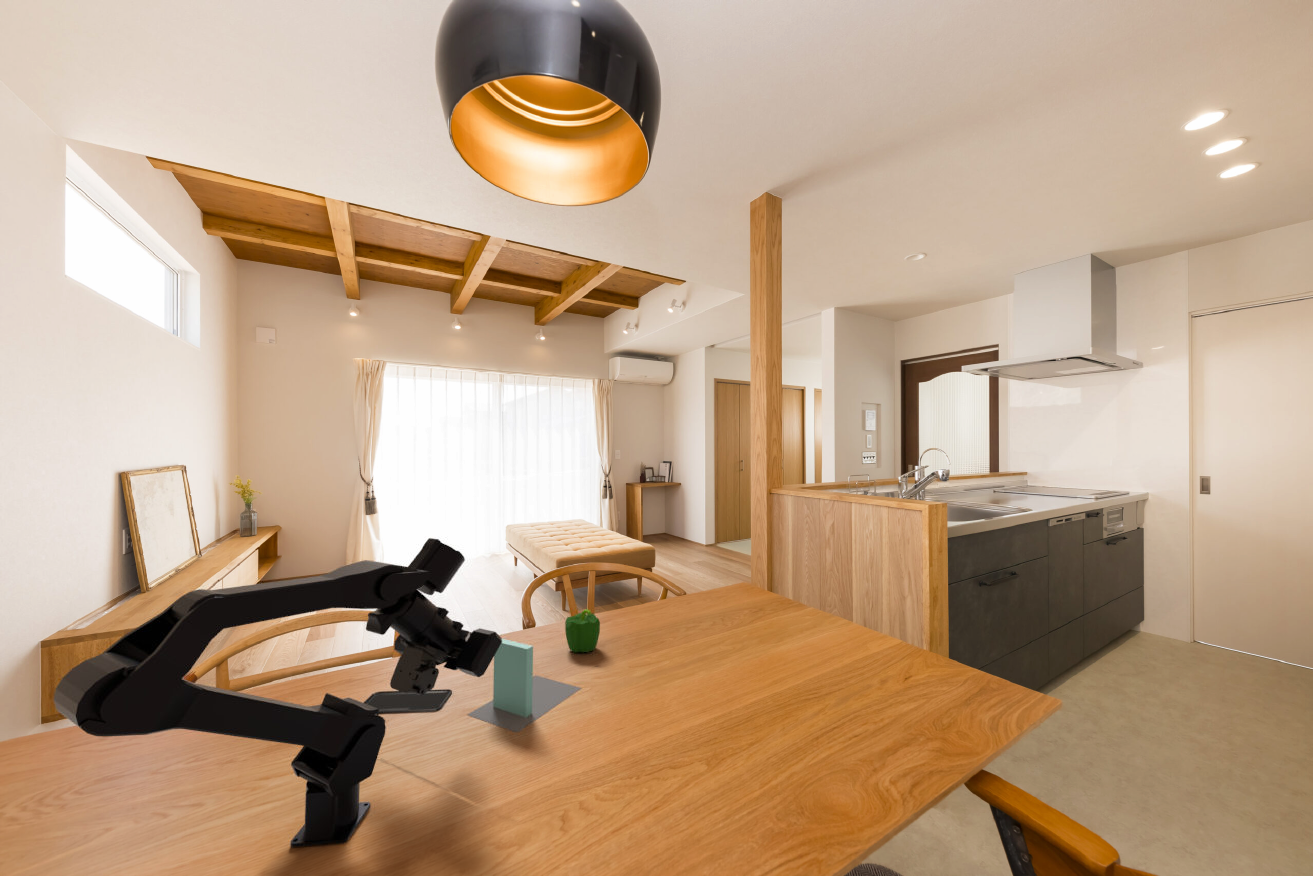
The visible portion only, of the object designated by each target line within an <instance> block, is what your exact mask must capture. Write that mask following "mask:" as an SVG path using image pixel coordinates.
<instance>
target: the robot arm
mask: <svg viewBox="0 0 1313 876" xmlns="http://www.w3.org/2000/svg"><path fill="white" fill-rule="evenodd" d="M465 561H466V559H465V556H464V554H462V552H460V551H459V550H456V549H454V548H453V547H451V546H450V545H448V544H445V543H442V541H441V540H440V539H439V538H434V537H433V538H431V537H430V538H428V539H427V540H426V542H425V543H424V544H423V546H422V548H421V550H420V551H419V552H418V553H417V555H416V556H415V557H414V558H413V560H412V561H411V562H410V564H409V565H408V566H403V565H399V564H398V565H397V564H392V563H387V562H381V561H375V560H360V561H357V562H353V563H350V564H347V565H344V566H339V567H338V568H336V569H334V570H332V571H330V572H328V573H324V574H321V575H316V576H310V577H309V576H308V577H302V578H301V577H299V578H293V579H287V580H284V579H283V580H280V581H279V580H278V581H271V582H270V581H269V582H264V583H256V584H249V585H247V584H246V585H240V586H234V587H226V588H224V587H223V588H217V589H204V588H203V589H202V588H201V589H196V590H191V591H189V592H187V593H185V594H183V595H181V596H180V597H179V598H178V599H176V600H175V601H174V602H172V603H171V605H169V606H167V608H165V609H164V610H163V611H162V612H160V613H158V614H157V615H155V616H153V617H152V618H150V619H149V620H147V621H145V622H144V623H142V624H141V625H139V626H138V627H136V628H134V629H132V630H131V631H129V632H127V633H126V634H124V635H123V636H121V637H120V638H119V639H118V640H116V641H115V642H114V643H113V644H112V645H111V646H109V647H108V648H107V649H105V650H104V651H103V652H101V653H100V654H98V655H95V656H93V657H91V658H88V659H85V660H84V661H81V663H79V664H78V665H76V666H74V667H73V668H72V669H71V670H69V671H68V672H67V673H66V674H65V675H64V676H63V677H62V678H61V679H60V681H59V682H58V684H57V686H56V687H55V691H54V696H53V703H54V706H55V710H56V711H57V712H58V713H59V714H61V715H62V716H64V717H65V718H66V719H67V720H69V721H70V722H72V723H73V724H74V725H76V726H77V727H78V728H80V729H81V730H82V731H83V732H85V733H86V734H88V735H92V736H95V737H100V738H101V737H103V738H104V737H125V736H126V737H127V736H146V735H151V734H157V733H162V732H166V731H172V730H187V731H194V732H202V733H209V734H214V735H217V734H218V735H221V736H222V735H224V736H230V737H232V736H233V737H237V738H247V739H252V740H260V741H266V742H273V743H281V744H288V745H296V746H302V748H301V749H300V750H299V752H298V753H297V754H296V756H295V757H294V759H293V760H292V761H291V763H290V767H291V768H292V770H293V773H294V775H295V776H296V777H298V778H302V779H304V780H305V781H306V784H305V785H306V786H305V801H304V802H305V803H304V805H305V808H304V824H303V825H302V826H301V828H300V829H299V831H297V833H296V834H295V835H294V837H292V839H291V840H290V842H289V843H290V844H289V845H290V847H291V848H295V847H296V848H298V847H311V846H323V845H337V844H344V843H347V842H348V841H349V839H350V838H351V837H352V835H353V834H354V832H355V831H356V829H357V828H358V826H359V824H360V823H361V822H362V820H363V818H364V817H365V816H366V815H367V813H368V812H369V810H370V808H371V802H369V801H363V802H361V801H360V785H361V782H363V781H364V780H367V779H368V778H370V777H371V776H372V775H373V772H374V769H375V765H376V762H377V759H378V756H379V752H380V749H381V746H382V743H383V741H384V738H385V735H386V728H387V727H386V719H385V718H384V717H382V716H380V714H379V715H376V713H377V712H378V711H379V709H377V708H375V707H372V706H370V705H367V704H365V703H364V702H362V701H359V700H356V699H354V698H352V697H344V698H341V697H338V696H336V695H332V694H331V693H328V692H326V693H325V695H324V697H323V699H322V703H321V704H320V703H319V704H316V705H311V706H310V705H302V704H298V703H293V702H288V701H283V700H279V699H273V698H269V697H263V696H259V695H256V694H255V695H254V694H249V693H244V692H239V691H234V690H231V689H230V690H229V689H223V688H220V687H215V686H210V685H205V684H201V683H196V682H192V681H189V680H187V679H185V678H184V677H185V676H186V675H188V673H189V672H190V671H191V670H192V668H193V667H194V666H195V664H196V662H197V661H198V659H200V657H201V656H202V655H203V653H204V651H205V650H206V649H207V647H208V646H209V644H210V643H211V641H212V640H213V639H214V638H215V637H217V636H218V634H220V633H221V632H222V631H223V630H224V629H230V628H235V627H239V626H246V625H251V624H257V623H260V622H261V623H262V622H267V621H272V620H277V619H281V618H287V617H293V616H297V615H303V614H309V613H313V612H319V611H323V610H330V609H353V610H355V609H356V610H371V609H372V610H374V611H371V612H368V614H367V617H368V618H367V621H366V625H365V626H366V627H365V630H366V631H367V632H370V633H374V634H378V635H380V636H381V635H383V636H384V635H385V634H386V633H387V632H388V630H389V629H390V628H391V629H392V630H394V631H395V632H396V633H398V634H399V635H398V636H397V637H396V639H395V641H394V646H393V648H394V651H395V652H397V653H398V654H400V656H399V658H398V660H397V664H396V666H395V669H394V671H393V674H392V675H391V679H390V683H389V685H390V688H391V689H393V690H394V691H401V692H404V693H413V694H418V695H423V694H425V693H426V692H427V691H428V690H434V689H433V688H435V685H436V682H437V679H438V677H439V674H440V670H439V668H437V667H436V666H440V665H443V664H444V665H443V668H444V669H448V670H452V671H458V670H459V671H460V672H462V673H464V674H467V675H470V676H473V677H477V678H481V677H482V676H484V675H485V673H486V672H487V669H488V668H489V666H490V664H491V662H492V661H493V660H494V655H495V654H496V652H497V650H498V648H499V647H500V645H501V643H502V639H503V638H502V637H501V636H500V635H499V634H498V633H497V632H496V631H493V630H488V629H484V628H477V629H474V630H473V631H472V632H471V631H470V630H465V629H463V628H464V626H465V625H464V624H463V623H462V622H461V621H456V620H453V619H451V618H450V617H449V616H448V614H449V613H450V611H449V610H448V609H446V608H444V607H440V606H436V605H435V604H434V603H433V602H432V601H430V599H428V598H427V596H425V595H428V596H433V595H434V594H435V592H436V593H439V594H442V593H443V592H444V591H445V590H446V589H447V587H448V585H449V584H450V583H451V581H452V579H453V578H454V577H455V575H456V574H457V573H458V571H459V570H460V568H461V567H462V566H463V564H464V563H465ZM424 594H425V595H424ZM375 609H376V610H375Z"/></svg>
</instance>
